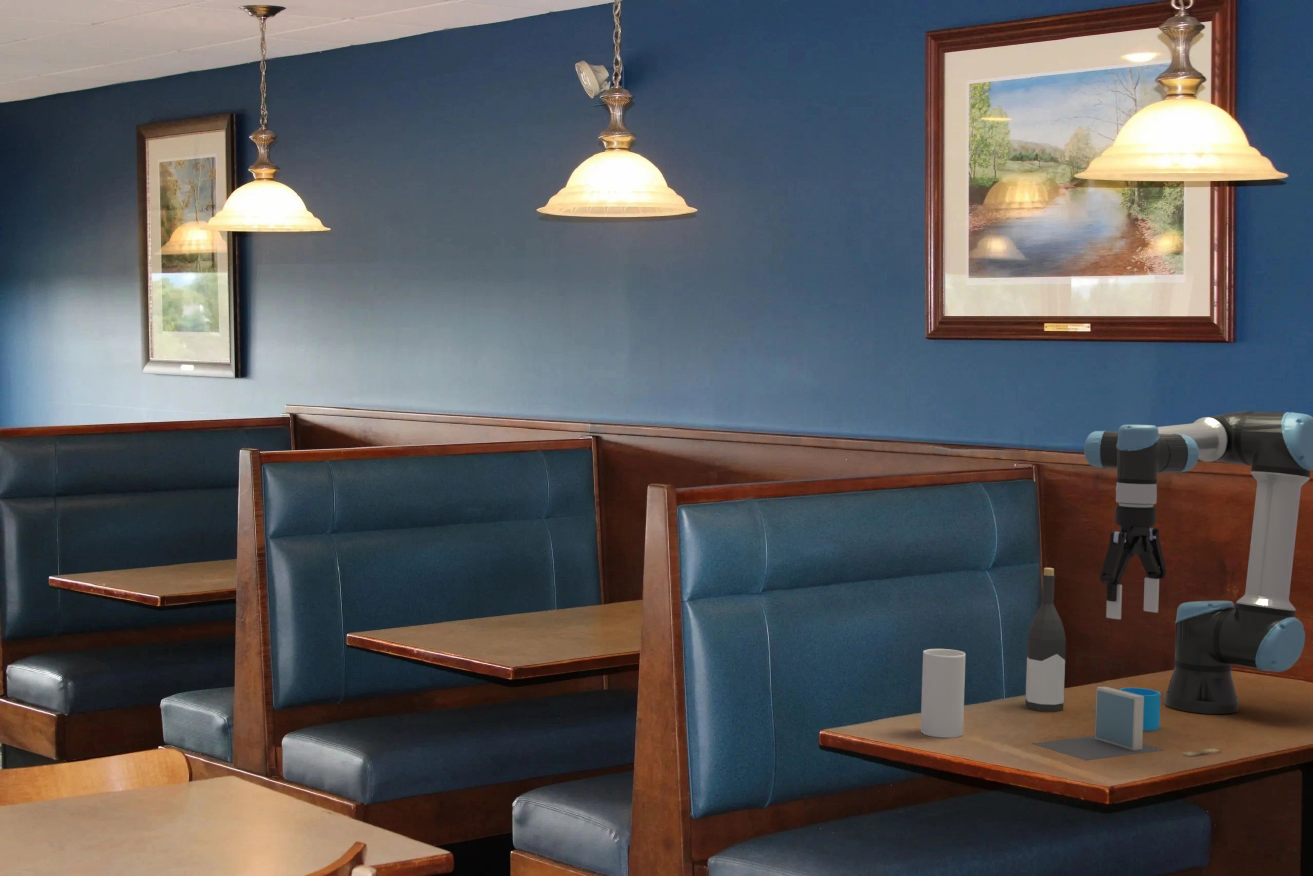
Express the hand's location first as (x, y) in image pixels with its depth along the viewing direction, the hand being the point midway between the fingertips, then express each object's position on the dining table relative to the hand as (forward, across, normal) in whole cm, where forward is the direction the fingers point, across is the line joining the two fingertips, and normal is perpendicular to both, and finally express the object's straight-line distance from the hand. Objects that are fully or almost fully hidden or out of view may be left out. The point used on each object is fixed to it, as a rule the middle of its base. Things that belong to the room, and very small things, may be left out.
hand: (1132, 615), depth 301 cm
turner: (+25, +4, +14) cm, 29 cm away
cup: (+25, +22, -28) cm, 44 cm away
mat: (+25, +11, 0) cm, 27 cm away
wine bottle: (+25, -16, -29) cm, 42 cm away
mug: (+26, -12, -6) cm, 29 cm away
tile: (+24, +6, +1) cm, 25 cm away
